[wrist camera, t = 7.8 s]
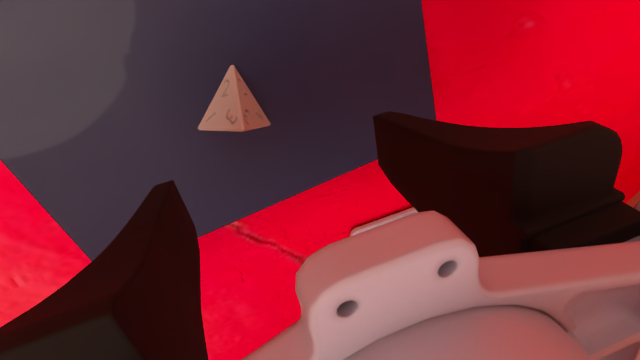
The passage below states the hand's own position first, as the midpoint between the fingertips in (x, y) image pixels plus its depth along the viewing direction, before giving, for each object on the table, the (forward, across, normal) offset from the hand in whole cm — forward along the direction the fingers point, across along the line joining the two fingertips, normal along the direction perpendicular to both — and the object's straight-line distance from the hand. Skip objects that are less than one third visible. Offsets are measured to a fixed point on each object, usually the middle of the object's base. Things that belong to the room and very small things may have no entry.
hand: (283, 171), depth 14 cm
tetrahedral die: (+6, 0, 0) cm, 7 cm away
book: (+9, +1, -1) cm, 9 cm away
